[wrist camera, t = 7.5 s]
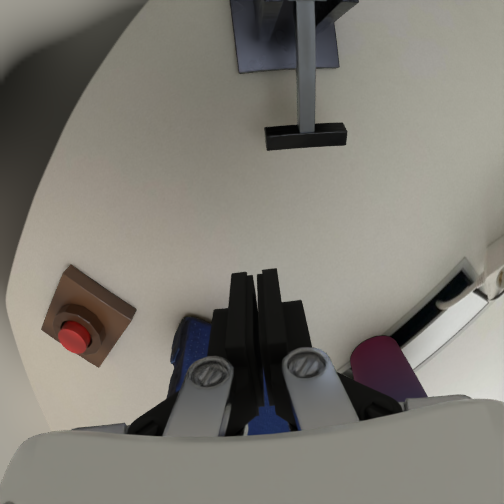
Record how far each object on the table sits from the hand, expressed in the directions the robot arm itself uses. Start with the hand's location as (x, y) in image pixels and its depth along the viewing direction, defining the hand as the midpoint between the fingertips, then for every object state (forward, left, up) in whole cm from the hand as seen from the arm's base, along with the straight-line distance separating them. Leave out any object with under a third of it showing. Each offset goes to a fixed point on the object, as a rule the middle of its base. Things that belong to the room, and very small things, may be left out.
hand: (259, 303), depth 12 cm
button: (-24, -15, -17) cm, 33 cm away
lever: (+4, +10, -12) cm, 17 cm away
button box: (-24, -15, -21) cm, 35 cm away
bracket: (+4, +15, -21) cm, 26 cm away
